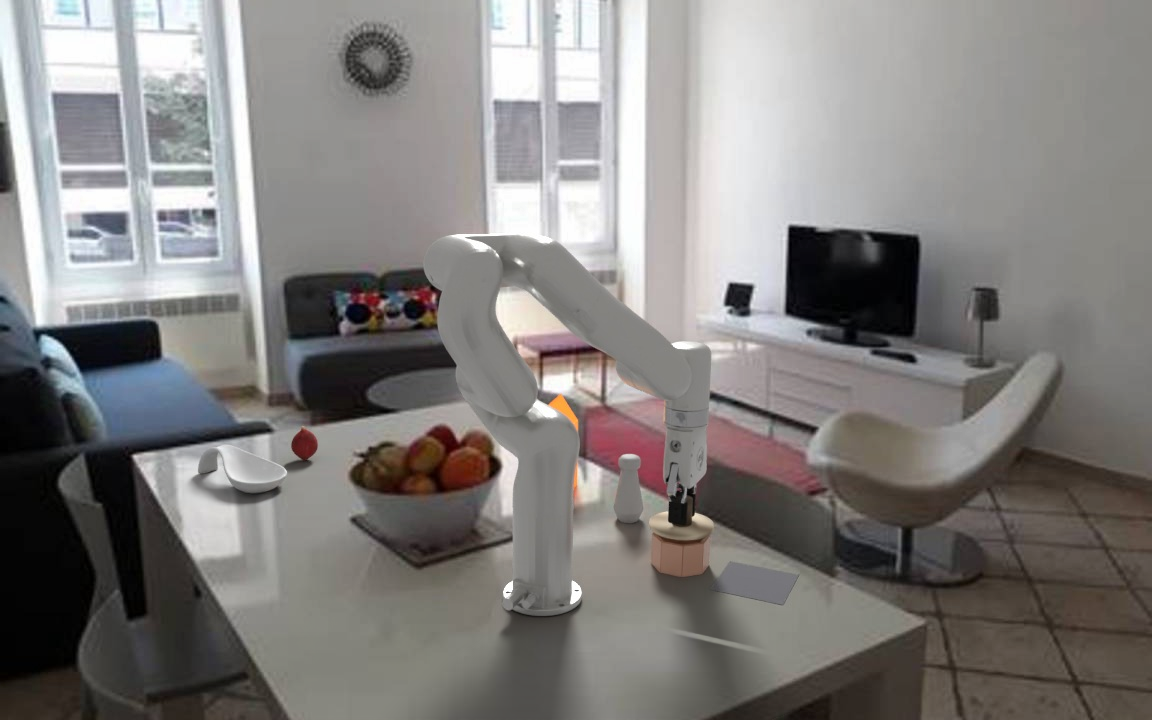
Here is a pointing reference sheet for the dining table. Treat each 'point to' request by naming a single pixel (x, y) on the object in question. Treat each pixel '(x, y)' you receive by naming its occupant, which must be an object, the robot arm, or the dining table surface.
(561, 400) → the orange juice
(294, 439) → the onion
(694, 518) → the lid
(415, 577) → the dining table surface
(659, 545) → the bowl
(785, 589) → the mat
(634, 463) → the salt shaker
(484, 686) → the dining table surface
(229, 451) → the spoon rest
